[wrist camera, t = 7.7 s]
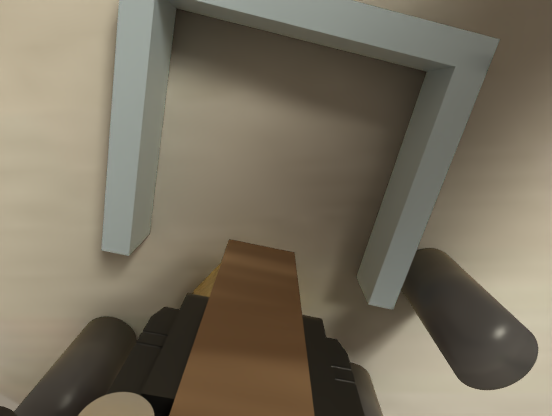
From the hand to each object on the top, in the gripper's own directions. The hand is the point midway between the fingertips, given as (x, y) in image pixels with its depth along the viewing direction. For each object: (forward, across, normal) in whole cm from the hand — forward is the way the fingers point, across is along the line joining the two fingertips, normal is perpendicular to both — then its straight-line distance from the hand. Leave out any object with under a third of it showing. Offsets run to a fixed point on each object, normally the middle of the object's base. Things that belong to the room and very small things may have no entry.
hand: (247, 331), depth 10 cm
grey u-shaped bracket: (+7, 0, -4) cm, 9 cm away
